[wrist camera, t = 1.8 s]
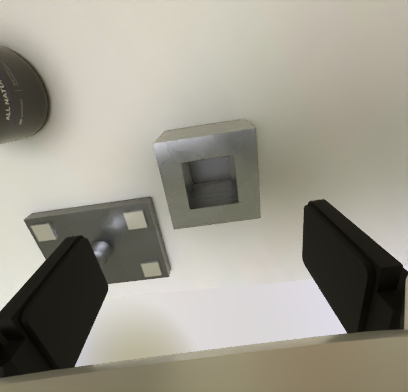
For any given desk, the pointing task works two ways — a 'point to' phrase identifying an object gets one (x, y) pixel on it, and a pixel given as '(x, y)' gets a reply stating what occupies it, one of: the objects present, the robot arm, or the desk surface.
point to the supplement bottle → (19, 98)
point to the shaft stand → (108, 237)
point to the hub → (215, 190)
